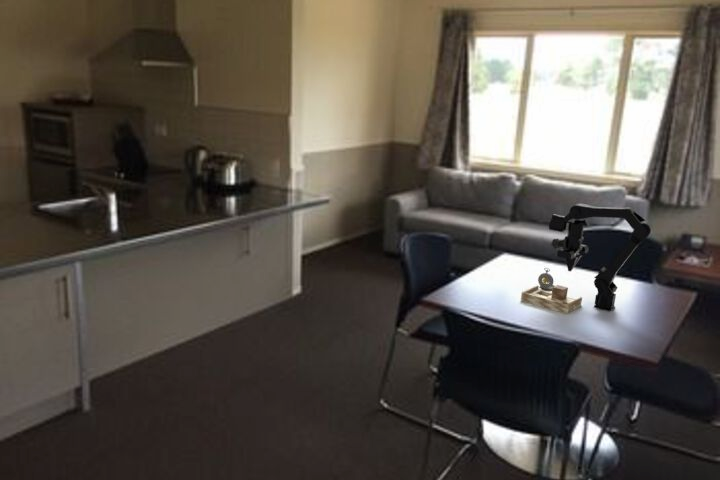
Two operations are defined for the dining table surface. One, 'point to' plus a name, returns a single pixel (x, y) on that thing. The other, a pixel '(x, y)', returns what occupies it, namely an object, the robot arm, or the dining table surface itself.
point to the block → (559, 292)
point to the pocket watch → (546, 280)
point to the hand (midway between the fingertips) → (569, 271)
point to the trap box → (550, 300)
